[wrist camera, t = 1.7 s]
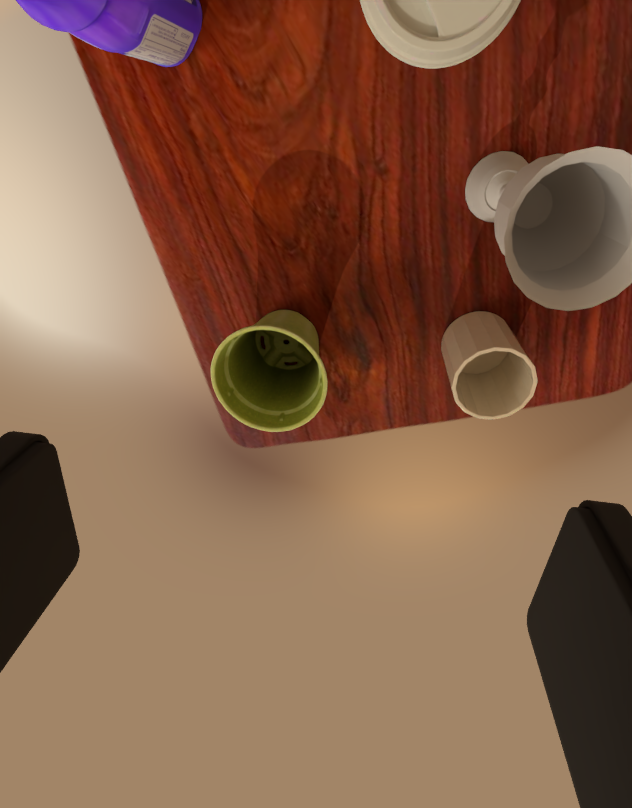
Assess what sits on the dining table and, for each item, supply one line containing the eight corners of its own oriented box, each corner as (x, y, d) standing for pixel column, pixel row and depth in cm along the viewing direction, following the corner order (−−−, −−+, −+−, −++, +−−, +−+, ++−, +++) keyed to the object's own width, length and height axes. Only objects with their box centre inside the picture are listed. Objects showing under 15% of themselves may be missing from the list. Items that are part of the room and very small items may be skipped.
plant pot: (250, 388, 50) (227, 436, 42) (226, 298, 45) (196, 334, 38) (342, 379, 48) (335, 427, 40) (326, 284, 43) (316, 318, 36)
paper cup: (447, 308, 43) (461, 344, 36) (519, 314, 43) (547, 351, 36) (435, 371, 46) (445, 415, 40) (502, 377, 46) (525, 423, 39)
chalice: (553, 217, 39) (669, 283, 23) (466, 249, 41) (520, 329, 25) (536, 118, 36) (657, 117, 20) (442, 157, 37) (488, 184, 22)
